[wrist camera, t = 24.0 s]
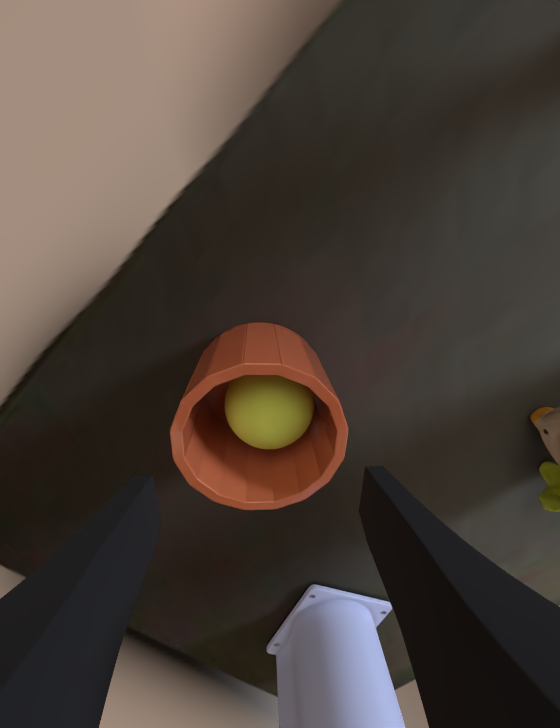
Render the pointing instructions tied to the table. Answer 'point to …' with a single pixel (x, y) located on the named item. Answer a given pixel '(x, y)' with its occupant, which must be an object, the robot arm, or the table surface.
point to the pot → (232, 455)
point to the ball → (268, 410)
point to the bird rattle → (556, 434)
